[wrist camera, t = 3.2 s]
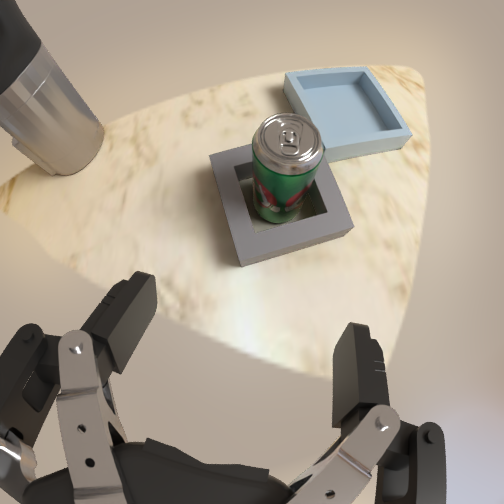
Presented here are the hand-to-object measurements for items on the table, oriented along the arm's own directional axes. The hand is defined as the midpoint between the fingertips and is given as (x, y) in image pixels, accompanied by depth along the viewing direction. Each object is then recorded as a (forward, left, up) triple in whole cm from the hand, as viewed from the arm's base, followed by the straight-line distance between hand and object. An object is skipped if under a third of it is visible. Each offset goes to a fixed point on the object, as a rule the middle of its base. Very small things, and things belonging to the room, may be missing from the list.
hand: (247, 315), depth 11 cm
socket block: (+6, +10, -16) cm, 20 cm away
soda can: (+6, +10, -17) cm, 20 cm away
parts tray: (+18, +19, -16) cm, 31 cm away
